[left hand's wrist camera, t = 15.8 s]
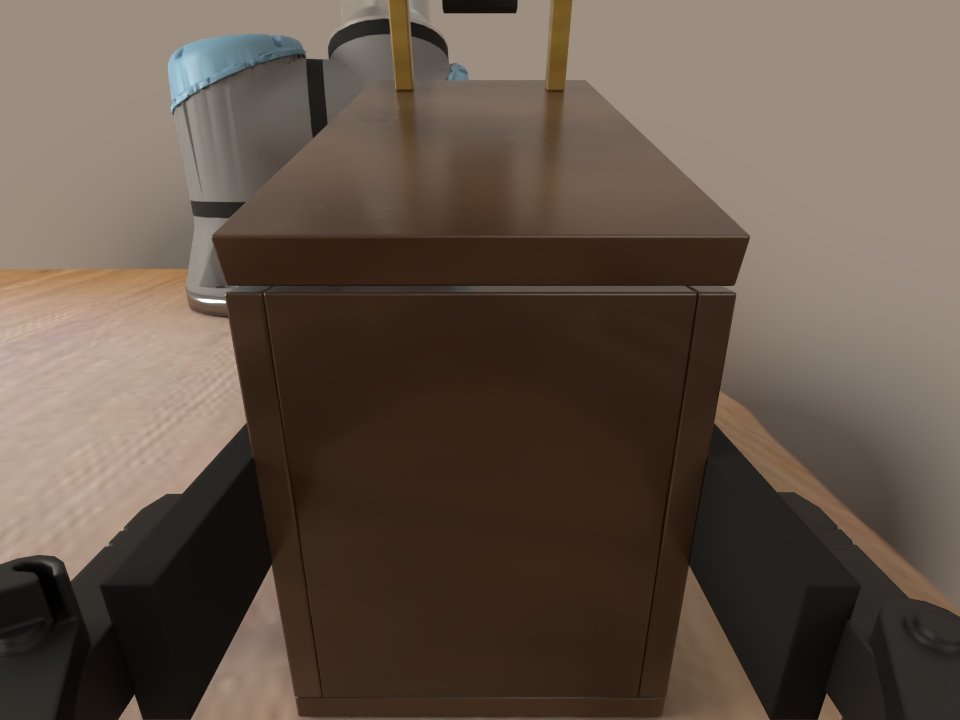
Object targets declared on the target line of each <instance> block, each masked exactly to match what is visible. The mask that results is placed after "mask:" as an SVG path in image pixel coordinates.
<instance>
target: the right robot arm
mask: <svg viewBox="0 0 960 720" xmlns="http://www.w3.org/2000/svg"><path fill="white" fill-rule="evenodd" d="M442 4H443V12H444V13H516V11H517V0H442ZM340 5H341V17H342V24H341V25H340V26H339V27H338V28H337V29H336V30H335V31H334V32H333V33H332V34H331V36H330V38H329V40H328V54H329V60H323V59H322V60H319V59H306V52H305V51H304V49H303V47H302V45H301V43H300V42H299V41H297V40H296V39H294V38H290V37H286V36H269V35H267V34H242V35H229V36H221V37H214V38H208V39H203V40H199V41H196V42H192V43H189V44H187V45H185V46H183V47H181V48H179V49H178V50H176V51H175V52H174V53H173V54H172V56H171V58H170V60H169V63H168V76H169V84H170V91H171V98H172V105H171V113H172V114H173V115H174V118H175V123H176V129H177V134H178V139H179V144H180V149H181V154H182V160H183V165H184V170H185V175H186V180H187V186H188V191H189V195H190V200H191V205H192V211H193V216H194V222H195V230H194V236H193V243H192V249H191V256H190V262H189V268H188V275H187V281H186V287H185V288H186V293H187V298H188V303H189V307H190V308H191V309H192V310H194V311H197V312H200V313H204V314H209V315H217V316H228V312H227V307H226V301H225V293H226V292H228V291H230V290H232V289H234V288H236V287H238V286H227V285H226V283H225V280H224V277H223V274H222V271H221V268H220V265H219V262H218V259H217V255H216V252H215V249H214V246H213V243H212V240H211V235H212V234H213V233H214V232H215V231H216V230H218V229H219V228H220V227H221V226H222V225H223V224H224V223H225V222H226V221H227V220H228V219H229V218H230V217H231V216H232V215H233V214H234V213H235V212H236V211H237V210H239V209H240V208H241V207H242V206H243V205H244V204H245V203H246V202H247V201H248V200H249V199H250V198H251V197H252V196H253V195H254V194H255V193H256V192H257V191H258V190H260V189H261V188H262V187H263V186H264V185H265V184H266V183H267V182H268V181H269V180H270V179H271V178H272V177H273V176H274V175H275V174H276V173H277V172H278V171H279V170H281V169H282V168H283V167H284V166H285V165H286V164H287V163H288V162H289V161H290V160H291V159H292V158H293V157H294V156H295V155H296V154H297V153H298V152H299V151H300V150H302V149H303V148H304V147H305V146H306V145H307V144H308V143H309V142H310V141H311V140H312V139H313V138H314V137H315V136H316V135H317V134H318V133H319V132H320V131H321V130H322V129H324V128H325V127H326V126H327V125H328V124H329V123H330V122H331V121H332V120H333V119H334V118H335V117H336V116H337V115H338V114H339V113H340V112H341V111H342V110H343V109H345V108H346V107H347V106H348V105H349V104H350V103H351V102H352V101H353V100H354V99H355V98H356V97H357V96H358V95H359V94H360V93H361V92H362V91H363V90H364V89H366V88H367V87H368V86H369V85H370V84H371V83H372V82H373V81H374V80H394V69H393V57H392V45H391V34H390V22H389V10H388V0H340ZM409 10H410V25H411V40H412V55H413V71H414V80H469V79H468V76H467V70H466V68H465V67H463V66H461V65H458V64H457V63H453V64H450V65H449V61H448V47H447V43H446V40H445V38H444V36H443V35H442V34H441V33H440V31H438V30H437V29H436V28H435V27H434V26H432V25H431V24H430V11H429V0H409ZM322 61H323V62H322Z"/></svg>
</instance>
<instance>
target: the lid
mask: <svg viewBox="0 0 960 720" xmlns="http://www.w3.org/2000/svg"><path fill="white" fill-rule="evenodd" d="M571 9H572V0H551V6H550V21H549V36H548V51H547V66H546V80H544V81H542V80H540V81H538V80H536V81H535V80H531V81H530V80H528V81H527V80H526V81H525V80H524V81H523V80H518V81H516V80H504V81H502V80H501V81H500V80H497V81H495V80H490V81H489V80H484V81H483V80H414V71H413V55H412V40H411V25H410V10H409V0H388V10H389V22H390V34H391V45H392V57H393V69H394V80H374V81H373V82H372V83H371V84H370V85H369V86H368V87H367V88H366V89H364V90H363V91H362V92H361V93H360V94H359V95H358V96H357V97H356V98H355V99H354V100H353V101H352V102H351V103H350V104H349V105H348V106H347V107H346V108H345V109H343V110H342V111H341V112H340V113H339V114H338V115H337V116H336V117H335V118H334V119H333V120H332V121H331V122H330V123H329V124H328V125H327V126H326V127H325V128H324V129H322V130H321V131H320V132H319V133H318V134H317V135H316V136H315V137H314V138H313V139H312V140H311V141H310V142H309V143H308V144H307V145H306V146H305V147H304V148H303V149H302V150H300V151H299V152H298V153H297V154H296V155H295V156H294V157H293V158H292V159H291V160H290V161H289V162H288V163H287V164H286V165H285V166H284V167H283V168H282V169H281V170H279V171H278V172H277V173H276V174H275V175H274V176H273V177H272V178H271V179H270V180H269V181H268V182H267V183H266V184H265V185H264V186H263V187H262V188H261V189H260V190H258V191H257V192H256V193H255V194H254V195H253V196H252V197H251V198H250V199H249V200H248V201H247V202H246V203H245V204H244V205H243V206H242V207H241V208H240V209H239V210H237V211H236V212H235V213H234V214H233V215H232V216H231V217H230V218H229V219H228V220H227V221H226V222H225V223H224V224H223V225H222V226H221V227H220V228H219V229H218V230H216V231H215V232H214V233H213V234H212V235H211V240H212V243H213V246H214V249H215V252H216V255H217V259H218V262H219V265H220V268H221V271H222V274H223V277H224V280H225V283H226V285H227V286H733V285H735V283H736V280H737V277H738V273H739V270H740V267H741V264H742V261H743V258H744V255H745V252H746V249H747V246H748V243H749V239H750V236H749V234H748V233H747V232H745V231H744V230H743V229H742V228H741V227H740V226H739V225H738V224H737V223H736V222H735V221H734V220H733V219H732V218H731V217H730V216H729V215H727V214H726V213H725V212H724V211H723V210H722V209H721V208H720V207H719V206H718V205H717V204H716V203H715V202H714V201H713V200H712V199H711V198H709V197H708V196H707V195H706V194H705V193H704V192H703V191H702V190H701V189H700V188H699V187H698V186H697V185H696V184H695V183H694V182H693V181H692V180H690V179H689V178H688V177H687V176H686V175H685V174H684V173H683V172H682V171H681V170H680V169H679V168H678V167H677V166H676V165H675V164H673V163H672V162H671V161H670V160H669V159H668V158H667V157H666V156H665V155H664V154H663V153H662V152H661V151H660V150H659V149H658V148H657V147H655V146H654V145H653V144H652V143H651V142H650V141H649V140H648V139H647V138H646V137H645V136H644V135H643V134H642V133H641V132H640V131H639V130H638V129H636V128H635V127H634V126H633V125H632V124H631V123H630V122H629V121H628V120H627V119H626V118H625V117H624V116H623V115H622V114H621V113H619V112H618V111H617V110H616V109H615V108H614V107H613V106H612V105H611V104H610V103H609V102H608V101H607V100H606V99H605V98H604V97H603V96H602V95H600V94H599V93H598V92H597V91H596V90H595V89H594V88H593V87H592V86H591V85H590V84H589V83H588V82H587V81H585V80H584V81H583V80H576V81H574V80H573V81H572V80H570V81H569V80H568V81H566V80H565V79H566V67H567V55H568V44H569V32H570V20H571Z"/></svg>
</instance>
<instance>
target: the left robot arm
mask: <svg viewBox="0 0 960 720" xmlns="http://www.w3.org/2000/svg"><path fill="white" fill-rule="evenodd" d="M271 565H272V564H271V558H270V552H269V546H268V541H267V535H266V529H265V524H264V518H263V512H262V506H261V501H260V495H259V489H258V484H257V478H256V472H255V466H254V461H253V455H252V449H251V444H250V438H249V432H248V426H247V423H246V424H245V425H244V426H243V427H242V429H241V430H240V431H239V432H238V433H237V434H236V435H235V436H234V437H233V439H232V440H231V441H230V442H229V443H228V444H227V445H226V446H225V447H224V448H223V450H222V451H221V452H220V453H219V454H218V455H217V456H216V457H215V458H214V459H213V461H212V462H211V463H210V464H209V465H208V466H207V467H206V468H205V469H204V471H203V472H202V473H201V474H200V475H199V476H198V477H197V478H196V479H195V480H194V482H193V483H192V484H191V485H190V486H189V487H188V488H187V489H186V490H185V491H184V493H183V494H166V495H164V496H163V497H161V498H160V499H158V500H156V501H155V502H153V503H151V504H150V505H148V506H146V507H145V508H143V509H142V510H141V511H140V512H139V513H138V514H137V515H136V516H135V517H134V518H133V519H132V520H131V521H130V522H129V523H128V524H127V525H126V526H125V527H124V530H123V531H120V532H119V533H118V534H117V535H116V536H115V537H114V538H113V539H112V540H111V541H110V542H109V546H108V547H104V548H103V549H102V550H101V551H100V552H99V553H98V554H97V555H96V556H95V557H94V558H93V559H92V560H91V561H90V562H89V564H88V565H87V566H86V567H85V568H84V569H83V570H82V571H81V572H80V573H79V574H78V575H77V576H76V577H75V578H74V579H73V580H72V581H71V582H70V579H69V576H68V573H67V570H66V568H65V565H64V562H62V561H61V560H59V559H58V558H56V557H55V556H44V555H36V556H30V557H24V558H18V559H15V560H12V561H9V562H6V563H3V564H0V720H118V719H119V717H120V716H121V714H122V713H123V711H124V710H125V708H126V707H127V705H128V704H129V702H130V701H131V699H132V697H133V696H134V694H135V697H136V700H137V703H138V706H139V709H140V712H141V715H142V718H143V720H191V718H192V716H193V714H194V712H195V710H196V708H197V706H198V704H199V703H200V701H201V699H202V697H203V695H204V693H205V691H206V689H207V687H208V685H209V683H210V681H211V680H212V678H213V676H214V674H215V672H216V670H217V668H218V666H219V664H220V662H221V660H222V658H223V657H224V655H225V653H226V651H227V649H228V647H229V645H230V643H231V641H232V639H233V637H234V635H235V634H236V632H237V630H238V628H239V626H240V624H241V622H242V620H243V618H244V616H245V614H246V612H247V611H248V609H249V607H250V605H251V603H252V601H253V599H254V597H255V595H256V593H257V591H258V589H259V588H260V586H261V584H262V582H263V580H264V578H265V576H266V574H267V572H268V570H269V568H270V567H271ZM689 566H690V567H691V569H692V571H693V573H694V575H695V577H696V579H697V581H698V583H699V585H700V587H701V589H702V590H703V592H704V594H705V596H706V598H707V600H708V602H709V604H710V606H711V608H712V610H713V612H714V613H715V615H716V617H717V619H718V621H719V623H720V625H721V627H722V629H723V631H724V633H725V634H726V636H727V638H728V640H729V642H730V644H731V646H732V648H733V650H734V652H735V654H736V656H737V657H738V659H739V661H740V663H741V665H742V667H743V669H744V671H745V673H746V675H747V677H748V679H749V680H750V682H751V684H752V686H753V688H754V690H755V692H756V694H757V696H758V698H759V700H760V702H761V703H762V705H763V707H764V709H765V711H766V713H767V715H768V717H769V719H770V720H818V717H819V714H820V711H821V708H822V705H823V702H824V699H825V696H826V693H827V694H828V695H829V697H830V698H831V700H832V701H833V703H834V704H835V706H836V708H837V709H838V711H839V712H840V714H841V715H842V720H960V617H959V616H957V615H955V614H954V613H952V612H950V611H948V610H946V609H944V608H941V607H938V606H936V605H933V604H930V603H928V602H925V601H920V600H914V599H909V598H908V597H907V596H906V595H905V594H904V593H903V592H902V591H901V590H900V589H899V588H898V587H897V586H896V585H895V584H894V583H893V582H892V581H891V580H890V579H889V578H888V577H887V576H886V575H885V574H884V572H883V571H882V570H881V569H880V568H879V567H878V566H877V565H876V564H875V563H874V562H873V561H872V560H871V559H870V558H869V557H868V556H867V555H866V554H865V553H864V552H863V551H862V550H861V549H860V548H859V547H858V546H857V545H853V544H852V540H851V539H850V538H849V537H848V536H847V535H846V534H845V533H844V532H843V531H842V530H841V529H838V528H837V525H836V524H835V523H834V522H833V521H832V520H831V519H830V518H829V517H828V516H827V515H826V514H825V513H824V512H823V511H822V510H821V509H820V508H819V507H817V506H816V505H814V504H812V503H811V502H809V501H807V500H806V499H804V498H803V497H801V496H799V495H798V494H796V493H794V492H776V491H775V490H774V489H773V488H772V486H771V485H770V484H769V483H768V482H767V481H766V480H765V479H764V478H763V477H762V475H761V474H760V473H759V472H758V471H757V470H756V469H755V468H754V467H753V466H752V464H751V463H750V462H749V461H748V460H747V459H746V458H745V457H744V456H743V454H742V453H741V452H740V451H739V450H738V449H737V448H736V447H735V446H734V445H733V443H732V442H731V441H730V440H729V439H728V438H727V437H726V436H725V435H724V434H723V432H722V431H721V430H720V429H719V428H718V427H717V426H716V425H715V424H714V425H713V431H712V437H711V442H710V448H709V454H708V458H707V464H706V470H705V475H704V481H703V487H702V492H701V498H700V504H699V509H698V515H697V521H696V527H695V532H694V538H693V544H692V549H691V555H690V561H689Z"/></svg>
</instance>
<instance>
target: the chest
mask: <svg viewBox="0 0 960 720" xmlns="http://www.w3.org/2000/svg"><path fill="white" fill-rule="evenodd" d="M735 300H736V293H735V292H733V291H731V290H729V289H727V288H725V287H723V286H238V287H236V288H234V289H232V290H230V291H228V292H226V293H225V301H226V307H227V312H228V318H229V324H230V329H231V335H232V341H233V347H234V352H235V358H236V364H237V369H238V375H239V381H240V386H241V392H242V398H243V404H244V409H245V415H246V421H247V426H248V432H249V438H250V444H251V449H252V455H253V461H254V466H255V472H256V478H257V484H258V489H259V495H260V501H261V506H262V512H263V518H264V524H265V529H266V535H267V541H268V546H269V552H270V558H271V564H272V569H273V575H274V581H275V586H276V592H277V598H278V604H279V609H280V615H281V621H282V626H283V632H284V638H285V644H286V649H287V655H288V661H289V666H290V672H291V678H292V684H293V689H294V695H295V697H296V704H297V710H298V715H299V716H301V717H450V716H661V715H662V713H663V708H664V702H665V696H666V693H667V687H668V682H669V676H670V670H671V664H672V659H673V653H674V647H675V642H676V636H677V630H678V625H679V619H680V613H681V608H682V602H683V596H684V590H685V585H686V579H687V573H688V568H689V561H690V555H691V549H692V544H693V538H694V532H695V527H696V521H697V515H698V509H699V504H700V498H701V492H702V487H703V481H704V475H705V470H706V464H707V458H708V454H709V448H710V442H711V437H712V431H713V425H714V420H715V414H716V408H717V402H718V397H719V391H720V385H721V380H722V374H723V368H724V363H725V357H726V351H727V345H728V339H729V334H730V328H731V322H732V317H733V311H734V306H735Z"/></svg>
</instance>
